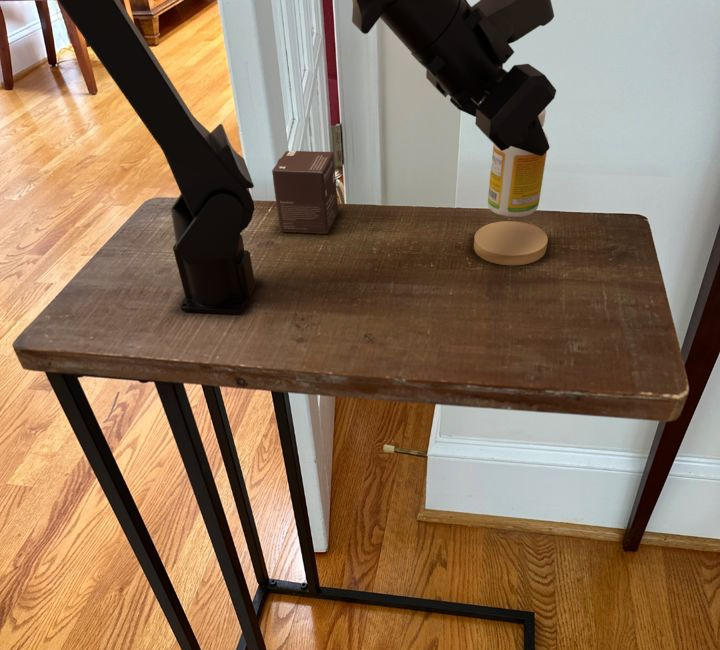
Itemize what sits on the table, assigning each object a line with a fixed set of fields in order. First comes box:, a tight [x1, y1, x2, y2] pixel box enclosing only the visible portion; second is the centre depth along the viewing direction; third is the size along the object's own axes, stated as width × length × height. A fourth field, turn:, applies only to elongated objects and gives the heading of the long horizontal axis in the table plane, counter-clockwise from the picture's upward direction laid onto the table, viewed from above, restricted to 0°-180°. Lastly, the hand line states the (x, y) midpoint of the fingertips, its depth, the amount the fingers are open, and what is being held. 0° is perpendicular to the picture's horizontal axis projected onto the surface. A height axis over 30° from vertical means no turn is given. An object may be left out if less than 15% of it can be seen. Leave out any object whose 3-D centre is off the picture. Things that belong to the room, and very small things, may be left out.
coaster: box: [473, 220, 549, 266], centre depth 76 cm, size 8×8×1 cm
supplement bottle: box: [487, 108, 549, 218], centre depth 70 cm, size 5×5×10 cm
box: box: [271, 150, 339, 234], centre depth 81 cm, size 6×6×7 cm
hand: (533, 141), depth 69 cm, fingers closed on supplement bottle, 5 cm apart
